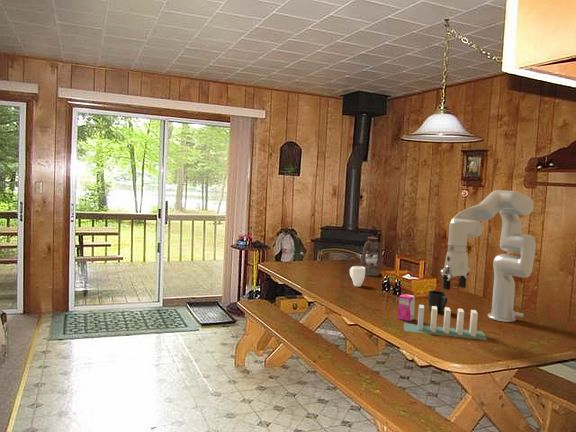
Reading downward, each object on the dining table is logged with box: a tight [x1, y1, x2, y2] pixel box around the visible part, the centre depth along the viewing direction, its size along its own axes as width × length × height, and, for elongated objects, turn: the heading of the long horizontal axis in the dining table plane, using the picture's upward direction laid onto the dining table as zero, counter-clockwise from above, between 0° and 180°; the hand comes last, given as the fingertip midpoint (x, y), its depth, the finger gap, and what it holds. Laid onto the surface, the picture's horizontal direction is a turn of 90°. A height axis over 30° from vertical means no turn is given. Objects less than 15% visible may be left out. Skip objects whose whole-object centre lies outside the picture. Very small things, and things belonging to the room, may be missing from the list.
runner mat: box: [403, 322, 488, 341], centre depth 215 cm, size 34×12×1 cm, turn 77°
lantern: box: [360, 223, 382, 277], centre depth 335 cm, size 11×16×35 cm
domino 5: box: [468, 309, 479, 336], centre depth 212 cm, size 2×6×10 cm, turn 167°
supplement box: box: [397, 293, 416, 323], centre depth 231 cm, size 6×6×12 cm
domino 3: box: [442, 306, 452, 334], centre depth 214 cm, size 2×6×10 cm, turn 167°
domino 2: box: [429, 306, 438, 332], centre depth 215 cm, size 2×6×10 cm, turn 167°
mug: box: [427, 290, 448, 314], centre depth 247 cm, size 8×12×10 cm
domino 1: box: [417, 304, 425, 331], centre depth 217 cm, size 2×6×10 cm, turn 167°
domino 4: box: [455, 308, 465, 335], centre depth 213 cm, size 2×6×10 cm, turn 167°
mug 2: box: [349, 265, 366, 288], centre depth 300 cm, size 12×8×11 cm
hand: (454, 288), depth 213 cm, fingers open, 9 cm apart
